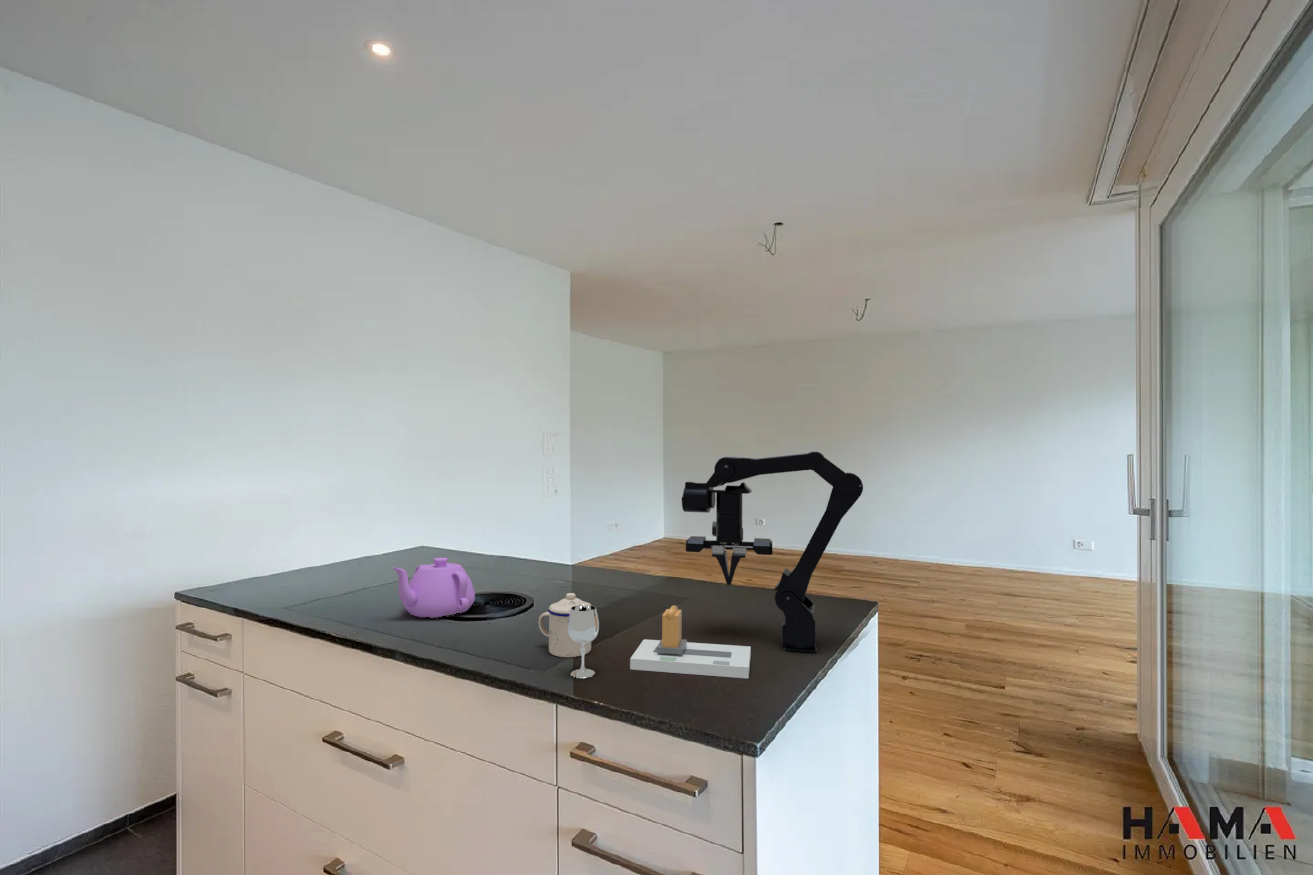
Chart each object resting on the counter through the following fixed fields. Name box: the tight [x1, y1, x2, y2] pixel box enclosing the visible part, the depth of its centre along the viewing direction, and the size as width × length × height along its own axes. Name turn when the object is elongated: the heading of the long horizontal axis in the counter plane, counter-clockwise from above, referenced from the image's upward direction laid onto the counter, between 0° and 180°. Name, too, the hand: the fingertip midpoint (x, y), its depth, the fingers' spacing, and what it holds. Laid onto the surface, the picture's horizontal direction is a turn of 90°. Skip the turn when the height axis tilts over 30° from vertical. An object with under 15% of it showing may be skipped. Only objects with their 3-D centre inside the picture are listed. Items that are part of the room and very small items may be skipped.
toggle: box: [657, 604, 688, 654], centre depth 115 cm, size 5×6×8 cm
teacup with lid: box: [538, 592, 592, 658], centre depth 121 cm, size 12×9×12 cm
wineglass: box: [568, 604, 600, 679], centre depth 108 cm, size 6×6×12 cm
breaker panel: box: [629, 639, 752, 679], centre depth 114 cm, size 22×12×2 cm, turn 79°
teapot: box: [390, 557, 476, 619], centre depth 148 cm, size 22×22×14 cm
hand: (729, 584), depth 129 cm, fingers closed
